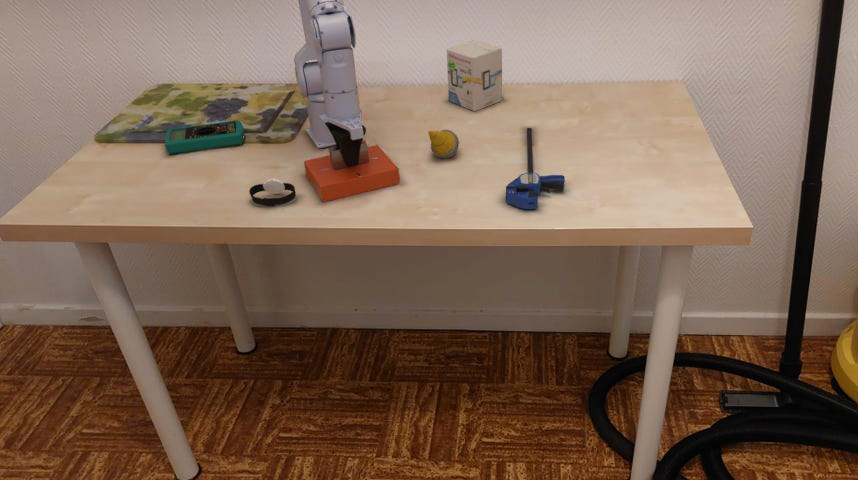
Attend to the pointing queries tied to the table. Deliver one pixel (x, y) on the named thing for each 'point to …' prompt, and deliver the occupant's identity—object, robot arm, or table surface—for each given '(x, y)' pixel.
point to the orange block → (351, 175)
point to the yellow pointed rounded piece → (443, 143)
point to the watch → (273, 192)
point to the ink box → (474, 75)
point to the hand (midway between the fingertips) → (350, 161)
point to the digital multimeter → (204, 137)
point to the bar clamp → (531, 183)
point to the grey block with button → (337, 156)
